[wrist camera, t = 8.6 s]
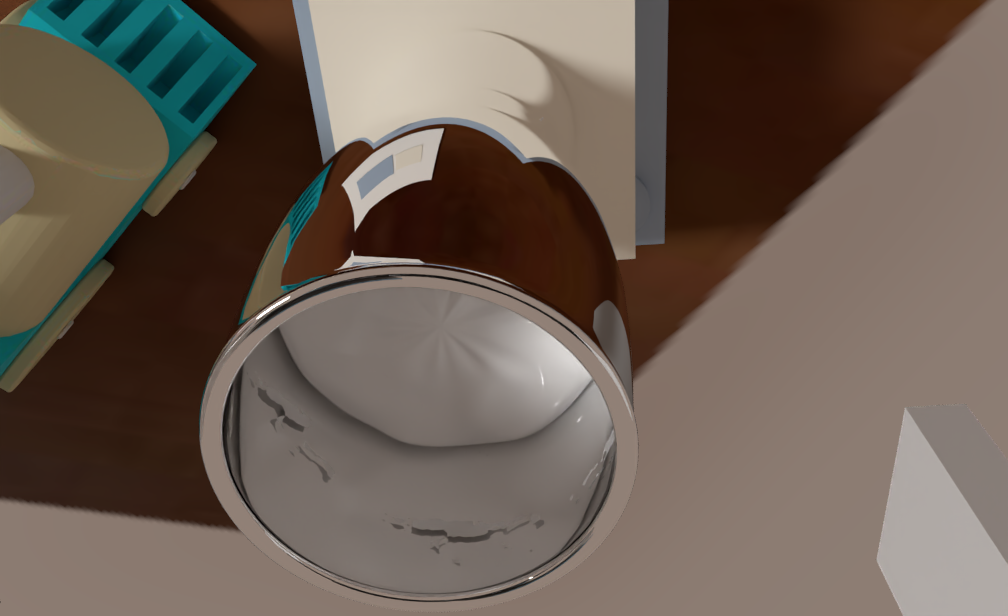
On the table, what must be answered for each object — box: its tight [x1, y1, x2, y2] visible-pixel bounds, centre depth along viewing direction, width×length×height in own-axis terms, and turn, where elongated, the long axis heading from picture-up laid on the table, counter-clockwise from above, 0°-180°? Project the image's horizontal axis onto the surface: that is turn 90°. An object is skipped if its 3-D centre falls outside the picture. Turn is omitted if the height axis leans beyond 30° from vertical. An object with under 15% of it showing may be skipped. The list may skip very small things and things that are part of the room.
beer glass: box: [199, 30, 638, 612], centre depth 19 cm, size 7×7×15 cm
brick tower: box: [292, 0, 668, 260], centre depth 29 cm, size 12×12×8 cm
